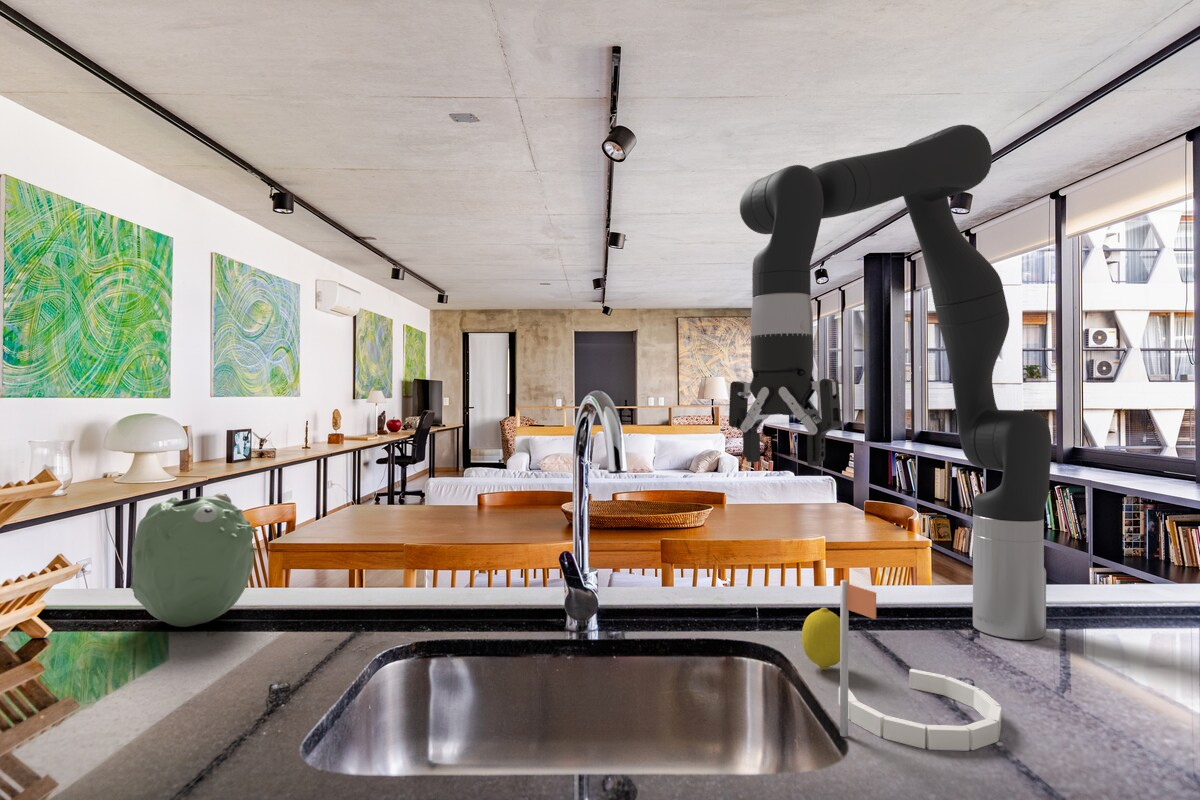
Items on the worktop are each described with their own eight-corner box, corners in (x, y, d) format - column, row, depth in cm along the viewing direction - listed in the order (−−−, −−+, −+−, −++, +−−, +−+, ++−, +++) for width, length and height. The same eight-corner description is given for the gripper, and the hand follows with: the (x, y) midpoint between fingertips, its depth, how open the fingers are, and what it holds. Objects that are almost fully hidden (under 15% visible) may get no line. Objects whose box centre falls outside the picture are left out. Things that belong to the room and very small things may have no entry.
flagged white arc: (922, 681, 86) (922, 552, 86) (1033, 729, 74) (1034, 578, 73) (802, 713, 77) (802, 569, 77) (906, 773, 65) (906, 601, 65)
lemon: (849, 680, 86) (849, 615, 86) (803, 676, 87) (803, 612, 87) (843, 663, 92) (843, 602, 92) (799, 660, 93) (800, 600, 93)
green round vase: (172, 606, 116) (172, 486, 116) (279, 610, 114) (279, 488, 114) (94, 638, 100) (94, 500, 100) (216, 644, 98) (216, 503, 98)
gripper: (850, 331, 84) (851, 465, 84) (749, 338, 94) (750, 458, 94) (820, 327, 79) (821, 470, 79) (716, 335, 89) (717, 462, 89)
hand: (782, 463), depth 87 cm, fingers open, 8 cm apart
